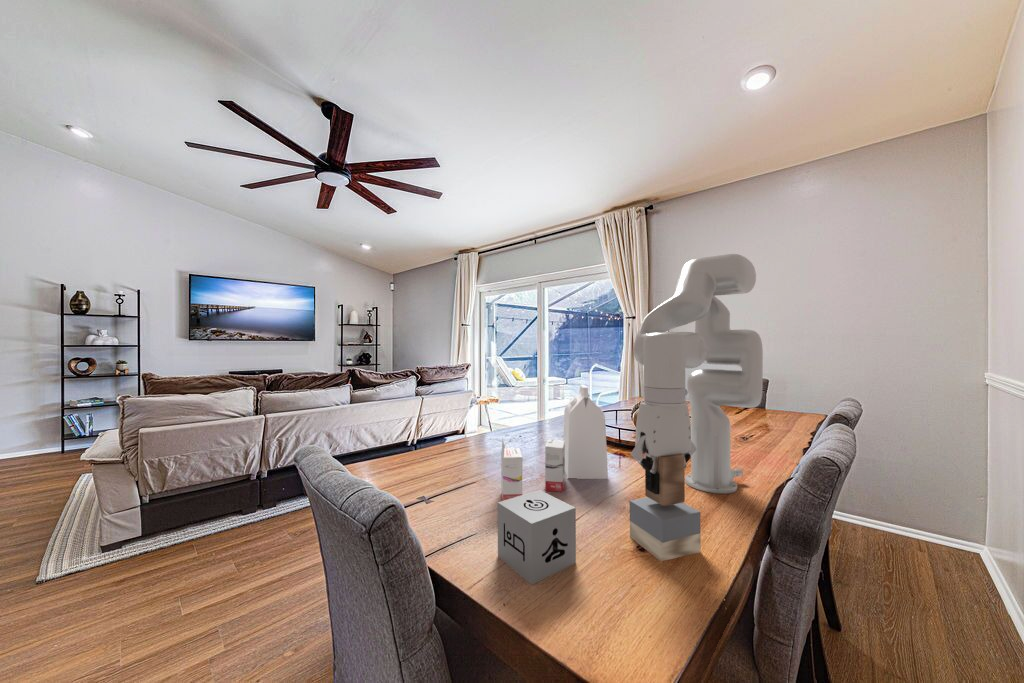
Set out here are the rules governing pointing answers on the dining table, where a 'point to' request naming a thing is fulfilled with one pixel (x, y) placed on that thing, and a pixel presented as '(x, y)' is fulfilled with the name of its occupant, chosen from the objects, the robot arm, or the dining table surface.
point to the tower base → (666, 544)
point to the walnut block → (670, 480)
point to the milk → (585, 438)
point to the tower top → (665, 519)
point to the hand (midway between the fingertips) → (664, 488)
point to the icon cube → (536, 535)
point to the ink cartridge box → (511, 472)
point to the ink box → (554, 465)
